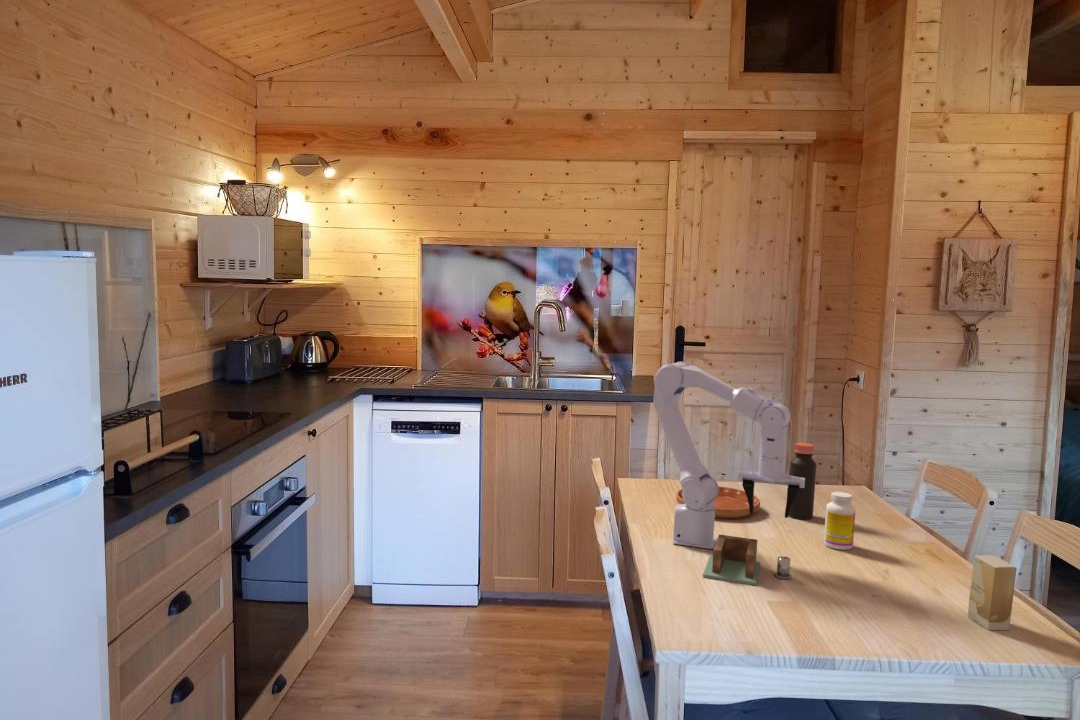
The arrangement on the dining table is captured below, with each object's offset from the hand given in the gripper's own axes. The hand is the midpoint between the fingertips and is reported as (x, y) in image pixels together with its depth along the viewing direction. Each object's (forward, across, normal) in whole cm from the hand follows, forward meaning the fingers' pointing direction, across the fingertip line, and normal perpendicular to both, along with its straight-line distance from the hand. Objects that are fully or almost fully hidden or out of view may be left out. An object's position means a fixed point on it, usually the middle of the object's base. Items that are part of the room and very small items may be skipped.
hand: (768, 514), depth 172 cm
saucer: (+10, -15, +35) cm, 39 cm away
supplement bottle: (+10, +16, +15) cm, 24 cm away
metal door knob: (+10, +4, -12) cm, 16 cm away
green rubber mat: (+10, -6, -12) cm, 17 cm away
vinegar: (+10, +7, +37) cm, 39 cm away
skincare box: (+10, +41, -20) cm, 47 cm away
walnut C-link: (+9, -6, -12) cm, 16 cm away
